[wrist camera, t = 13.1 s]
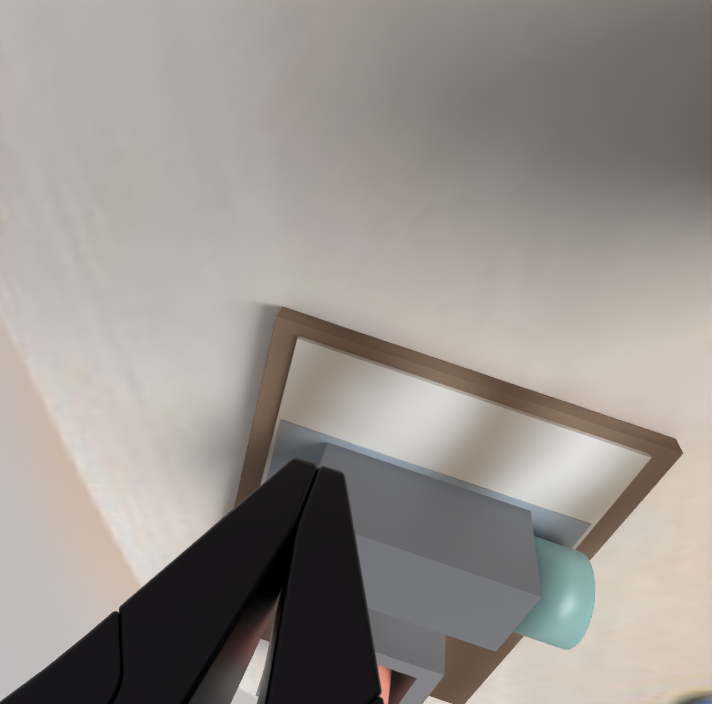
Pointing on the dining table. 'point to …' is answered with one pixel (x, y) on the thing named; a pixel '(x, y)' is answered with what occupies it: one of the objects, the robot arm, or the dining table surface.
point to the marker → (460, 559)
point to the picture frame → (450, 444)
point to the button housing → (407, 657)
